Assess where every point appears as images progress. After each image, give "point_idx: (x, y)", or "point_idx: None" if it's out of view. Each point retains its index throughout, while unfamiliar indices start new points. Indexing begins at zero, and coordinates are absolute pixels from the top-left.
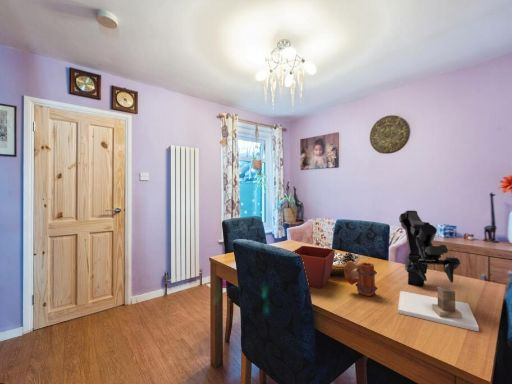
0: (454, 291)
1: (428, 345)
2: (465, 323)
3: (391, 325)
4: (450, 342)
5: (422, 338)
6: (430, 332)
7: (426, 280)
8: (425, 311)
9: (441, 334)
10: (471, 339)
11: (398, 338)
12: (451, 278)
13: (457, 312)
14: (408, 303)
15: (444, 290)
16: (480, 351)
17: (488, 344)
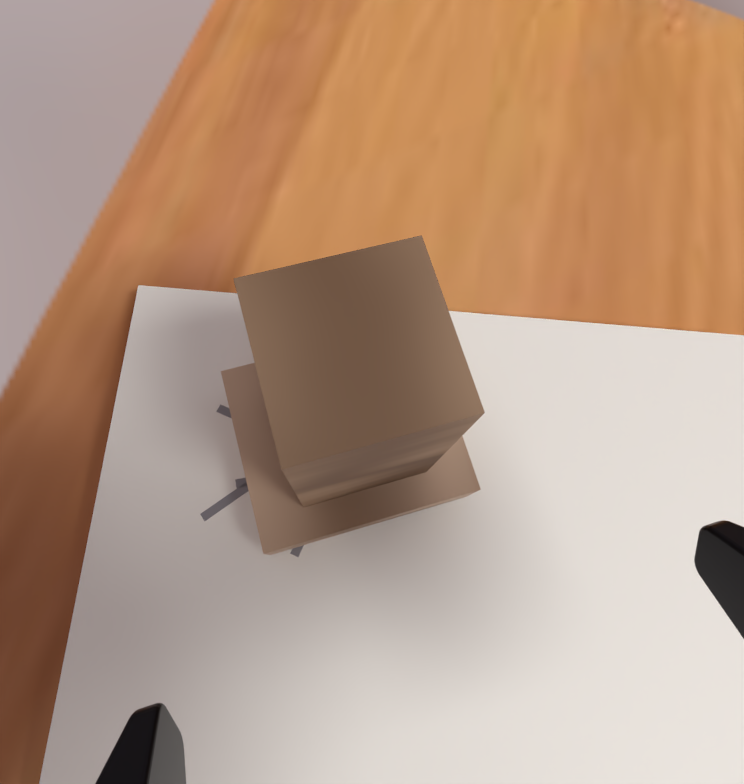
0: (242, 286)
1: (512, 8)
2: (226, 309)
3: (735, 137)
4: (386, 82)
5: (542, 63)
6: (493, 150)
7: (704, 527)
8: (529, 406)
9: (426, 153)
10: (245, 167)
11: (670, 13)
12: (135, 781)
13: (257, 376)
14: (691, 532)
15: (394, 264)
16: (237, 55)
17: (155, 149)
